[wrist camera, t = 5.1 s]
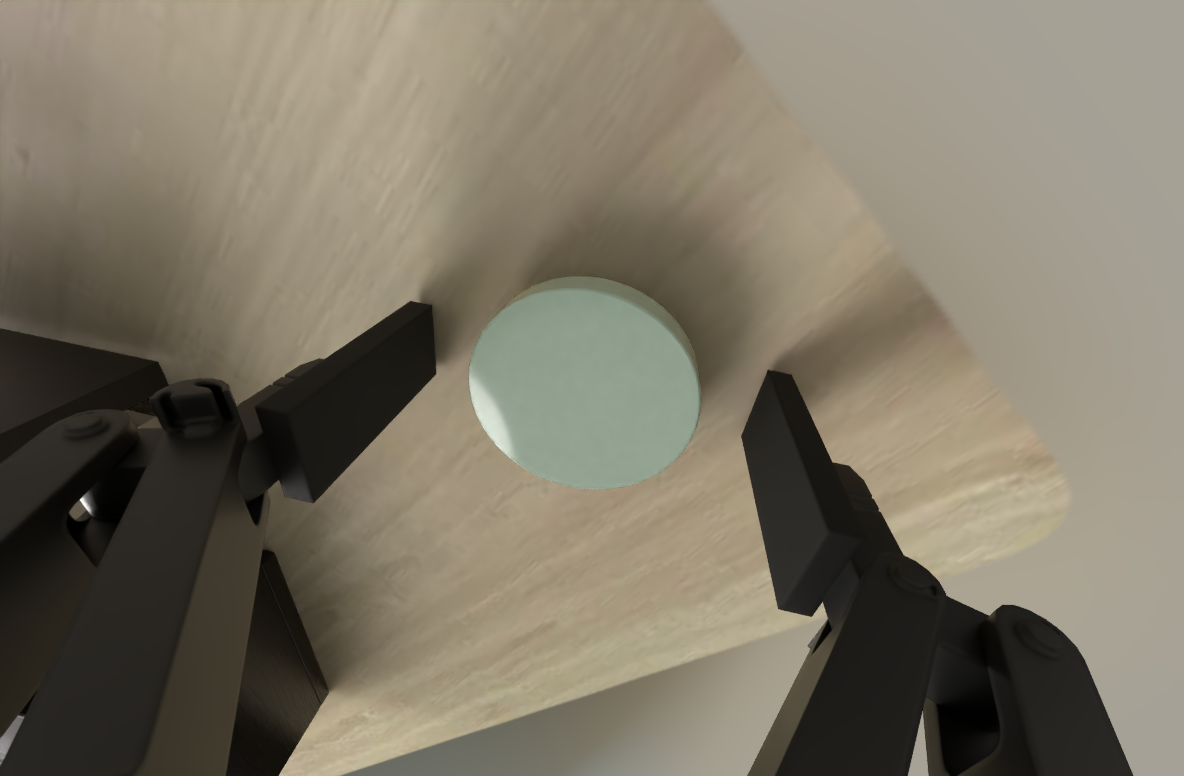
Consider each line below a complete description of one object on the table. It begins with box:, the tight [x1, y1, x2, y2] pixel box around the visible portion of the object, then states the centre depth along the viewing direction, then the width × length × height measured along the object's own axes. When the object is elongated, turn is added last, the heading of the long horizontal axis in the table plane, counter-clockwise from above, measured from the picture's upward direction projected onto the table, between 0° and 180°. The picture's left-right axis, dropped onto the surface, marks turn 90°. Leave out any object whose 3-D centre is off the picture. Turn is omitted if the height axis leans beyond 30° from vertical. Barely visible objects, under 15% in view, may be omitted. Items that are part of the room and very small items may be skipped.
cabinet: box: [0, 550, 329, 776], centre depth 26 cm, size 17×14×9 cm
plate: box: [468, 276, 701, 490], centre depth 14 cm, size 7×7×2 cm
